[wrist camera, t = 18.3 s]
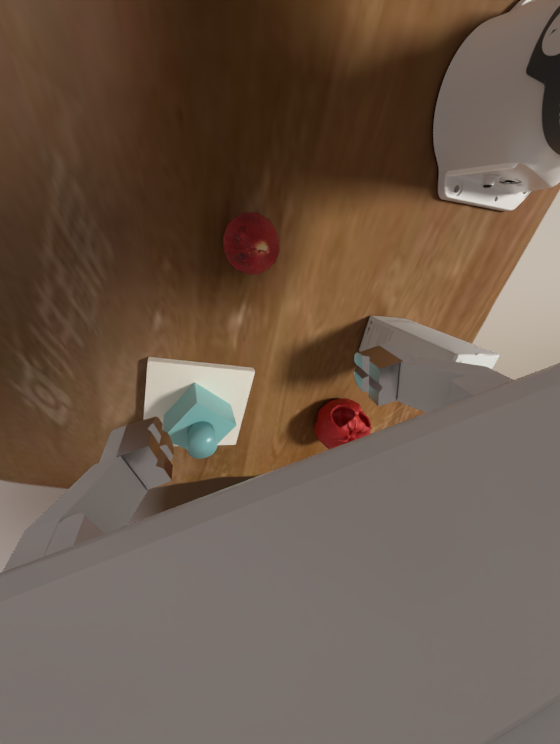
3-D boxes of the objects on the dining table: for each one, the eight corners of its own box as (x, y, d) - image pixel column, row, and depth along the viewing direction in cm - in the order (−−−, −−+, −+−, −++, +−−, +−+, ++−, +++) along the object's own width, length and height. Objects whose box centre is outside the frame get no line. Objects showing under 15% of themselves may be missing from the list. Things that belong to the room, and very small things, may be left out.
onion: (232, 276, 31) (246, 291, 25) (209, 226, 28) (218, 227, 22) (274, 257, 32) (299, 266, 25) (257, 205, 29) (280, 199, 22)
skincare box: (356, 350, 43) (430, 403, 31) (369, 312, 41) (457, 353, 28) (394, 351, 47) (476, 400, 34) (409, 316, 44) (504, 355, 31)
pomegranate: (341, 435, 53) (369, 471, 46) (300, 432, 49) (323, 471, 41) (364, 395, 50) (397, 427, 42) (322, 388, 45) (351, 422, 38)
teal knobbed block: (163, 415, 36) (160, 456, 30) (195, 382, 35) (198, 417, 29) (201, 433, 40) (206, 474, 33) (230, 404, 39) (240, 440, 33)
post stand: (253, 367, 38) (261, 383, 35) (234, 439, 44) (239, 460, 40) (148, 356, 33) (144, 374, 29) (142, 441, 38) (138, 465, 35)
